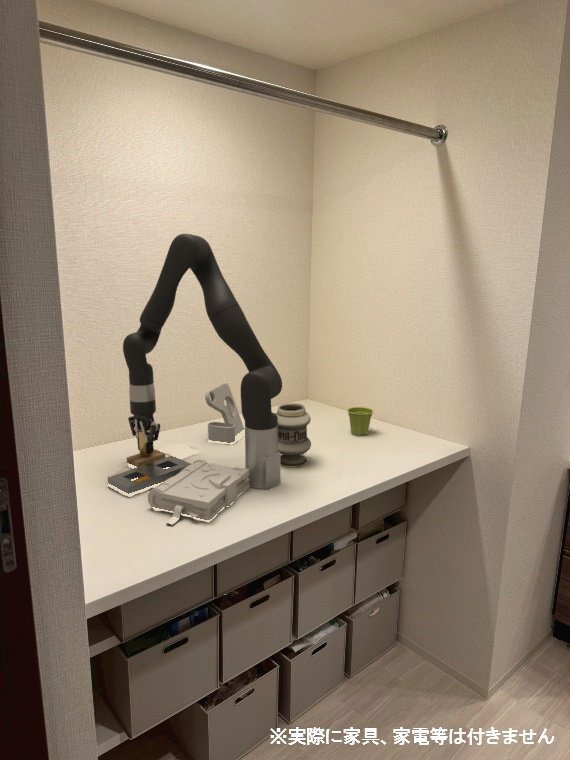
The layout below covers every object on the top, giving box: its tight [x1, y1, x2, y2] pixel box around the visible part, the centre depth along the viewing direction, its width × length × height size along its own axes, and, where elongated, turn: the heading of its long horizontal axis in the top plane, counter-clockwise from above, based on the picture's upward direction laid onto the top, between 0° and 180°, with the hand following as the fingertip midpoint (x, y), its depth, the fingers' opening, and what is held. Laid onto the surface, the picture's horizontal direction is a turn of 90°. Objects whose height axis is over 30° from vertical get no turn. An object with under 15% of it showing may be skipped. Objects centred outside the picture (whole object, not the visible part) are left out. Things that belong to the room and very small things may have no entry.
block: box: [126, 448, 166, 467], centre depth 169 cm, size 6×10×3 cm, turn 139°
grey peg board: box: [107, 455, 192, 494], centre depth 158 cm, size 10×22×3 cm, turn 139°
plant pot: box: [346, 406, 374, 436], centre depth 198 cm, size 9×9×9 cm
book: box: [147, 458, 250, 520], centre depth 144 cm, size 19×28×8 cm
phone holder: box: [204, 383, 245, 443], centre depth 194 cm, size 17×10×18 cm, turn 161°
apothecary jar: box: [274, 402, 312, 468], centre depth 171 cm, size 12×12×18 cm
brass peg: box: [139, 430, 152, 458], centre depth 168 cm, size 4×4×8 cm
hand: (145, 451), depth 169 cm, fingers closed on brass peg, 3 cm apart
